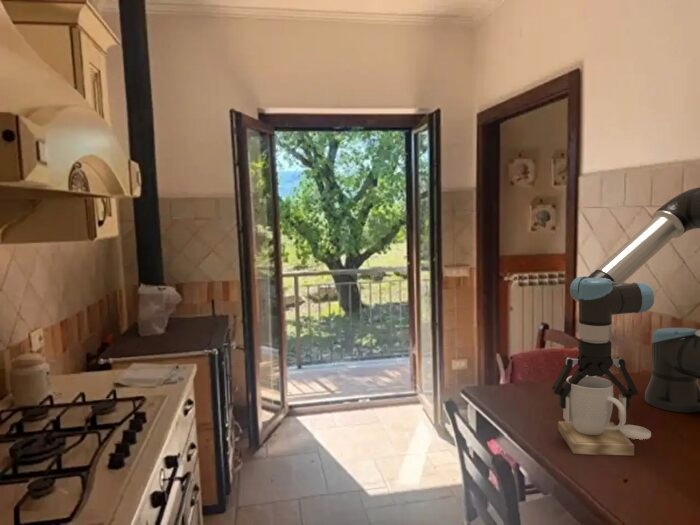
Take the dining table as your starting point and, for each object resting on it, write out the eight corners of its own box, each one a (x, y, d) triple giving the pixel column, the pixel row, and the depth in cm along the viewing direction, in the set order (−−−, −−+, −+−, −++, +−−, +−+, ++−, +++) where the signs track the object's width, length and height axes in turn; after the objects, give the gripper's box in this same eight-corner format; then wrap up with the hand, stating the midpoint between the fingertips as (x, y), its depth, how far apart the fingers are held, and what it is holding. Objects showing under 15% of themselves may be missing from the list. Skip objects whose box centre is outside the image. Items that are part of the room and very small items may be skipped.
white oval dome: (640, 427, 141) (640, 424, 141) (657, 440, 133) (657, 436, 133) (611, 428, 141) (611, 425, 141) (626, 441, 133) (626, 437, 133)
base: (612, 431, 138) (612, 421, 138) (634, 455, 125) (634, 444, 124) (558, 430, 140) (558, 420, 140) (573, 453, 126) (573, 443, 126)
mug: (636, 437, 128) (637, 386, 127) (612, 449, 122) (613, 396, 121) (580, 418, 141) (581, 371, 139) (556, 428, 135) (557, 379, 133)
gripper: (640, 335, 132) (639, 415, 134) (540, 336, 135) (540, 414, 137) (654, 343, 124) (652, 427, 126) (547, 343, 128) (547, 425, 130)
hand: (594, 420), depth 132 cm, fingers open, 13 cm apart
